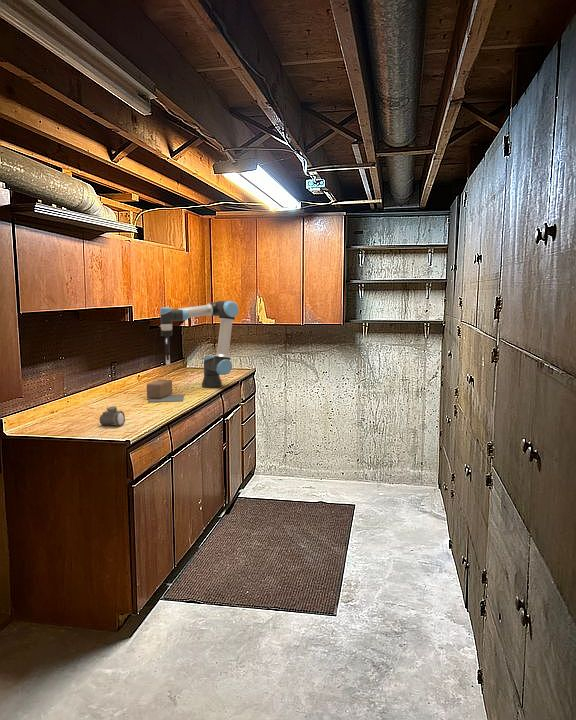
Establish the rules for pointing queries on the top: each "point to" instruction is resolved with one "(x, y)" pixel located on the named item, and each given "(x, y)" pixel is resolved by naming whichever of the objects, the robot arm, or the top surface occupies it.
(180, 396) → the mat
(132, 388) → the top surface
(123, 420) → the pipe fitting
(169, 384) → the block
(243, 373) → the top surface
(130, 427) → the top surface
